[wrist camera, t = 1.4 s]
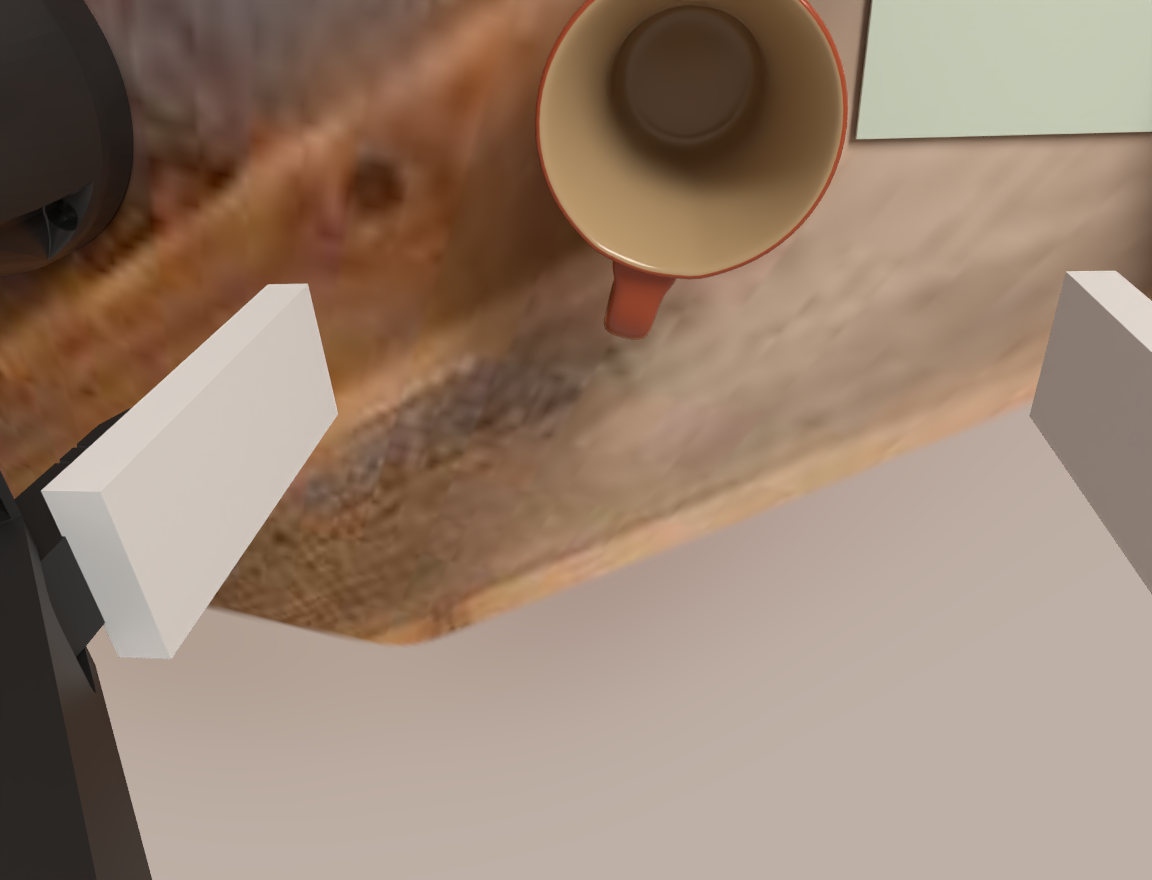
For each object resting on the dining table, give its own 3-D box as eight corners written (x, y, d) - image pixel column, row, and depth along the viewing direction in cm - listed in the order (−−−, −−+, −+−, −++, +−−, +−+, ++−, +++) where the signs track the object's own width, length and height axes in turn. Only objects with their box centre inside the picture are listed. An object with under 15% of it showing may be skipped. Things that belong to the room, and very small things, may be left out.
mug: (606, -90, 30) (574, -89, 22) (841, -22, 31) (903, 5, 22) (534, 230, 37) (488, 329, 28) (730, 283, 37) (744, 398, 28)
